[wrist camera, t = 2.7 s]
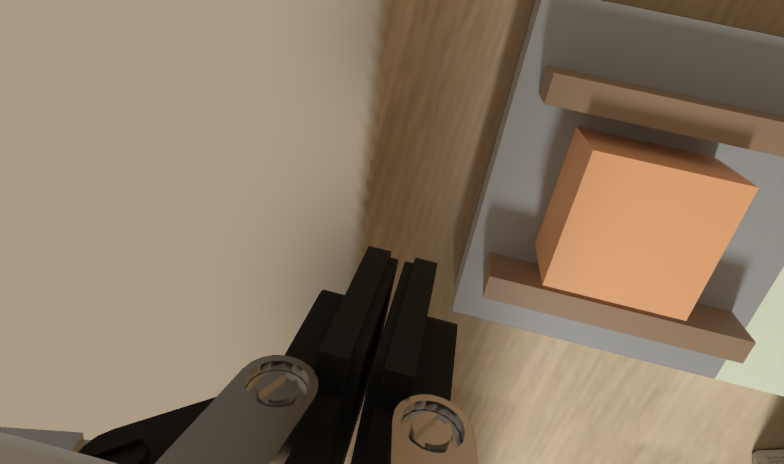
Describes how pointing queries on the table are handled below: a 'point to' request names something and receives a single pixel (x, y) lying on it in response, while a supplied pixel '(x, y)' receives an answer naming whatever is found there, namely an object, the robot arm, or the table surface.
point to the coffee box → (768, 457)
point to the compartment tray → (650, 124)
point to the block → (639, 222)
